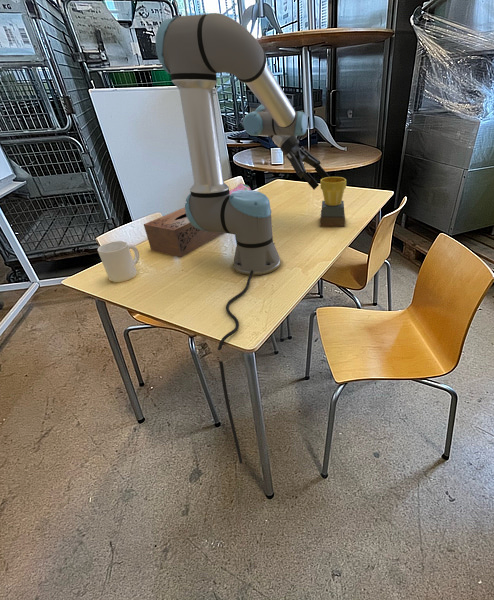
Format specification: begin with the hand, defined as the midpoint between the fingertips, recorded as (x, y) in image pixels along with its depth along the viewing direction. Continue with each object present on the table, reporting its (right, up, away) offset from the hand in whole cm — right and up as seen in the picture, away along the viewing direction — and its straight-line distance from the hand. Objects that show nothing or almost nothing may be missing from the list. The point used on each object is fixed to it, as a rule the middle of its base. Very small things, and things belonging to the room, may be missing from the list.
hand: (322, 183), depth 135 cm
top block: (+5, -11, +5) cm, 13 cm away
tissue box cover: (-51, -24, -5) cm, 57 cm away
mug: (-64, -39, -27) cm, 80 cm away
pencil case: (-41, -2, +29) cm, 50 cm away
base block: (+5, -14, +7) cm, 17 cm away
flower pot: (+5, -8, +3) cm, 9 cm away
